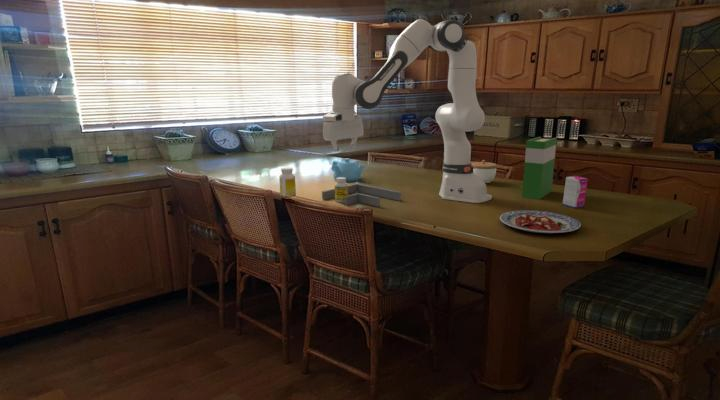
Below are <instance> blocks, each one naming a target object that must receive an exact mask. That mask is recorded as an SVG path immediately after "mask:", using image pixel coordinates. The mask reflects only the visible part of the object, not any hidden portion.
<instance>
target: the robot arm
mask: <svg viewBox="0 0 720 400" xmlns="http://www.w3.org/2000/svg"><path fill="white" fill-rule="evenodd" d="M427 47H428V48H430V50H433V51H435V52H446V53H447V54H448V57H449V59H448V60H449V62H448V63H449V64H448V75H447V90H448V91H449V92H450V95H451V98H452V101H453V102H450V103H448V102H447V103H444V104H442V105H441V106H439V107H438V108H437V110H436V112H435V121H436V124H438V126H439V128H440V131H441V135H442V139H443V145H444V146H443V148H444V149H443V151H444V152H443V162H442V180H441V185H440V189H439V193H438V195H439V196H440V197H441V199H443V200H451V201H456V202H458V201H459V202H465V203H472V204H480V203H485V202H489V201H490V200H492V199H493V196H492V195H491V194H488V193H487V192H488V189H487V184H485V183H484V182H483V181H482V180H481V179H480V178H479V177H478V176H477V175H476V174H475V173H473V172H474V171H473V169H475V168H474V167H476V166H472V165H471V163H472V162H471V156H472V155H471V154H472V145H471V142H470V141H469V140H468V138H467V135H466V132H474V131H478V130H480V129H481V128H482V127H483V125H484V123H485V118H486V117H485V111H484V110H483V109H482V108H481V106H480V103H479V101H478V97H477V91H476V90H477V89H476V84H477V83H476V82H477V81H476V80H477V64H478V62H477V60H478V59H477V58H478V57H477V56H478V55H477V54H478V53H477V48H476V45H475V43H474V42H472V41H471V40H468V37H467V35H466V31H465V29H464V26H463V25H462V23H461V22H459V21H458V20H456V19H445V20H443V21H441V22H438V23H437V24H435V25H432V24H431V23H429V22H428V21H427V20H425V19H422V18H418V19H416V20H414V21H413V22H412V23H411V24H409V25H408V26H406V28H405V29H403V31H402V32H401V33H400V34H398V36H397V37H396V39H394V41H393V42H392V43H391V45H390V47H389V49H388V58H387V61H386V62H385V63H384V65H382V67H381V68H380V69H379V71H378V72H377V73H376V74H375V75H374V77H372V78H371V79H370V80H368V81H365V80H363V79H360V78H358V77H356V76H355V75H353V74H352V73H351V72H350V73H349V72H346V73H341V74H339V75H336V76H334V77H333V79H332V83H331V99H332V110H331V111H330V112H328V113H326V114H324V115H323V116H322V120H323V121H324V122H323V124H322V138H323V139H324V140H325V141H327V142H329V141H330V144H331V146H332V147H333V149H332V150H333V152H340V151H339V150H340V146H338V145H337V143H338V140H346V139H350V140H351V142H350V144H349V149H355V148H356V143H357V141H358V138H359V137H363V136H364V134H365V133H364V123H363V119H362V116H361V114H359V113H357V114H355V106H357V105H358V106H360V107H361V108H363V109H366V110H371V109H374V108H377V107H378V106H379V105H380V103H381V101H382V99H383V96H384V94H385V91H386V90H387V88H388V87H389V86H390V85H391V83H392V82H394V80H395V79H396V77H398V75H399V74H400V72H402V71H403V70H404V69H405V68H407V67H408V66H409V65H410V64H412V63H413V62H414V61H415V60H416V59H417V58H418V57H419V56H420V55H421V53H422V52H423V51H424V50H425V49H427Z"/></svg>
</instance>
